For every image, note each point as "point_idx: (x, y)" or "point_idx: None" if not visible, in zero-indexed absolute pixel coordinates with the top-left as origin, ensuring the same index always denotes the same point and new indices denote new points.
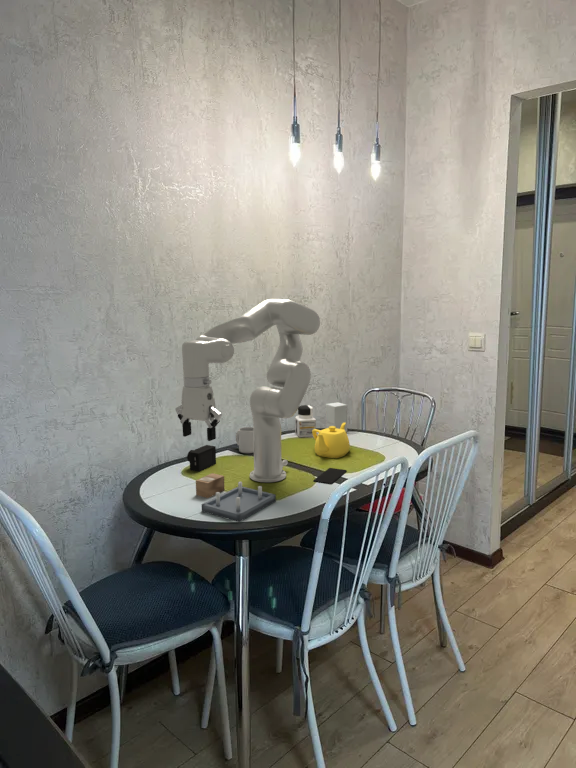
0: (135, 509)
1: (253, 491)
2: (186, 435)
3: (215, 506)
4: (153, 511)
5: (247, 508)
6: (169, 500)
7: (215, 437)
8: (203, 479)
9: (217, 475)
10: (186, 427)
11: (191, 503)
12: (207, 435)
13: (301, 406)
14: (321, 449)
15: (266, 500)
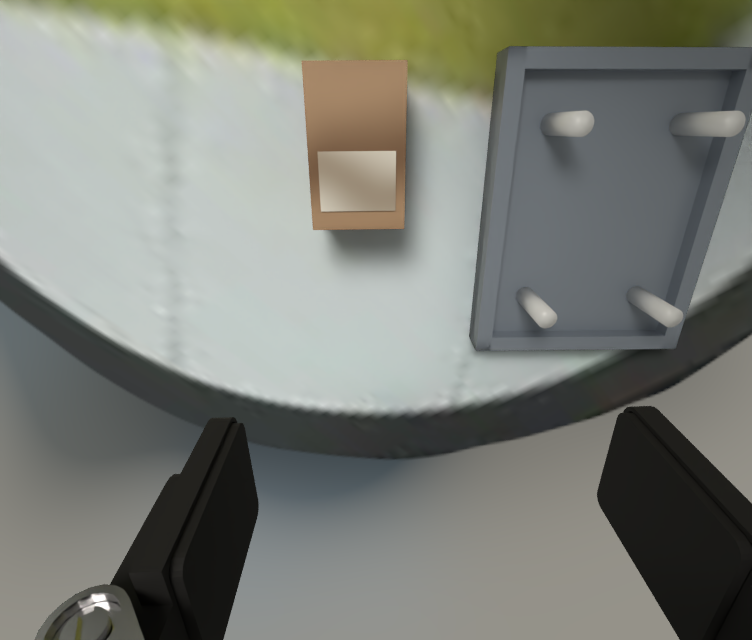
0: None
1: (620, 69)
2: (253, 492)
3: (543, 337)
4: (312, 422)
5: (686, 285)
6: (274, 324)
7: (657, 416)
8: (344, 198)
9: (363, 80)
10: (222, 583)
11: (377, 299)
12: (637, 558)
13: None
14: None
15: (736, 145)
